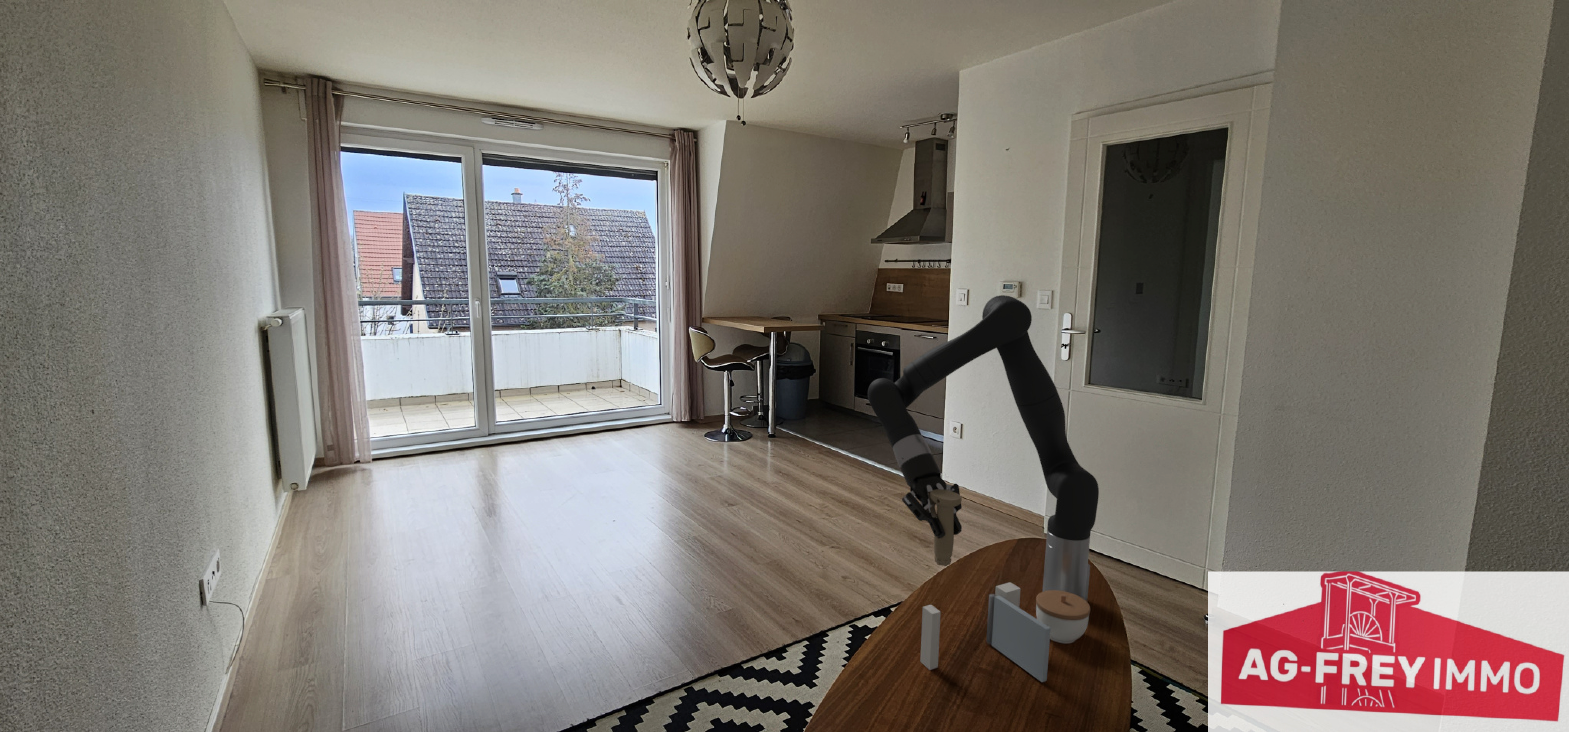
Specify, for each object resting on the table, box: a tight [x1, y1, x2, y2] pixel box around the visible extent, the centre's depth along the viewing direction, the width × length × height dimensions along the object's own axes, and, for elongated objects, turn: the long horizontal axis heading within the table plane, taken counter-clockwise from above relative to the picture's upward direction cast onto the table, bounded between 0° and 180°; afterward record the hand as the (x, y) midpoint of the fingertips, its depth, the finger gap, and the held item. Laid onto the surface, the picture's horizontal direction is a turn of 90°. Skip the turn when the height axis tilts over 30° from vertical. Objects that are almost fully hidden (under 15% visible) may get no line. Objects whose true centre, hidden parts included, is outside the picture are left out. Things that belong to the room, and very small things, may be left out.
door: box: [985, 593, 1051, 683], centre depth 135 cm, size 15×2×11 cm, turn 26°
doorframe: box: [919, 581, 1021, 671], centre depth 139 cm, size 23×3×12 cm, turn 116°
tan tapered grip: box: [930, 489, 963, 567], centre depth 139 cm, size 5×6×15 cm
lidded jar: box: [1035, 590, 1091, 645], centre depth 145 cm, size 11×11×9 cm
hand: (950, 534), depth 137 cm, fingers closed on tan tapered grip, 3 cm apart
